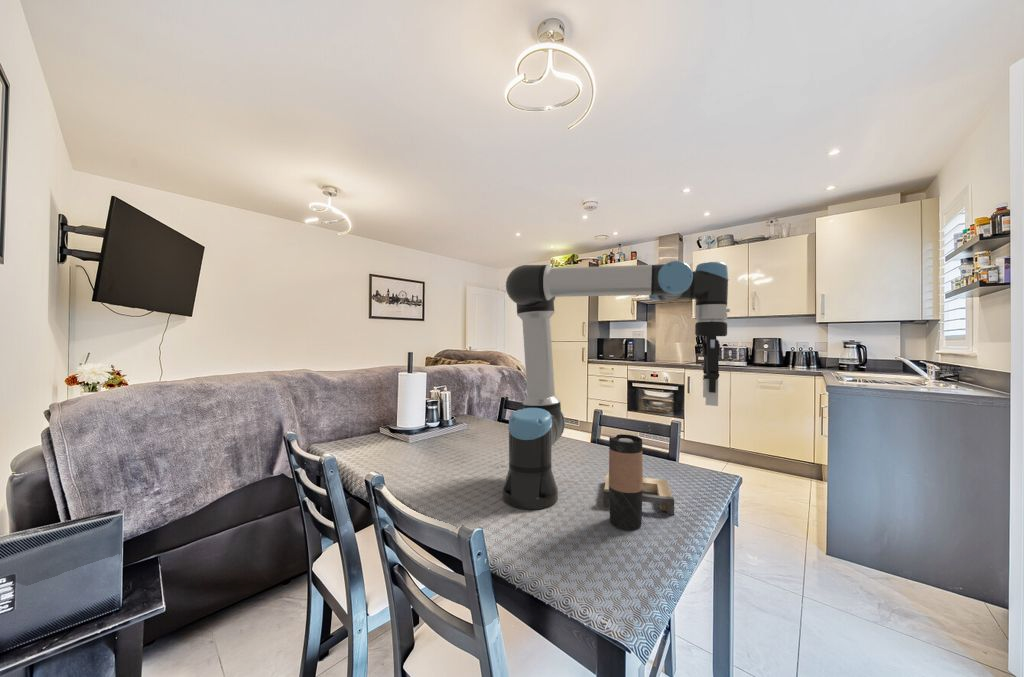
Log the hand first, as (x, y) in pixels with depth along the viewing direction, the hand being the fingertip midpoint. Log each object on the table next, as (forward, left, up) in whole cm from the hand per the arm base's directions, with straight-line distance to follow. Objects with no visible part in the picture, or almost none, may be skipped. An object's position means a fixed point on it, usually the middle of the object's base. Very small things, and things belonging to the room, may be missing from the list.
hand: (709, 401), depth 99 cm
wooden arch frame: (-18, -2, -27) cm, 33 cm away
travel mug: (-21, -18, -27) cm, 39 cm away
